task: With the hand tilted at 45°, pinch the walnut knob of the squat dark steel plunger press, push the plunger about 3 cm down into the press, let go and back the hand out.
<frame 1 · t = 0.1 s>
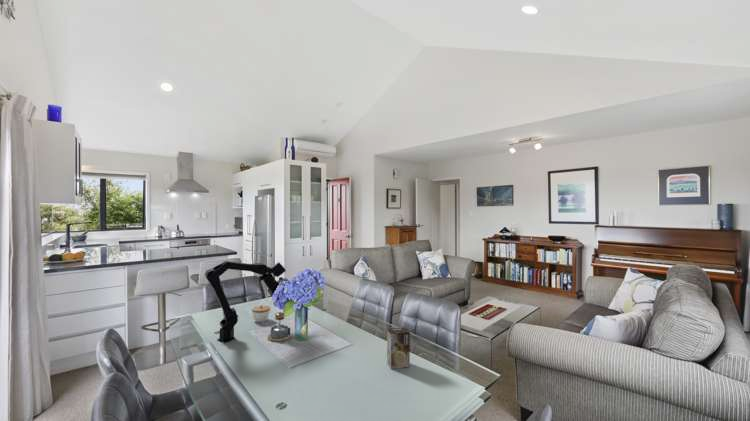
hand: (284, 302, 189), 15 cm above the table, tool tilted 35°, fingers open, 9 cm apart
press body: (279, 337, 176), on the table
plunger: (279, 321, 176), point 8 cm above the table, slide at 0.0 cm
coffee box: (397, 365, 147), on the table
lidded jar: (260, 320, 200), on the table
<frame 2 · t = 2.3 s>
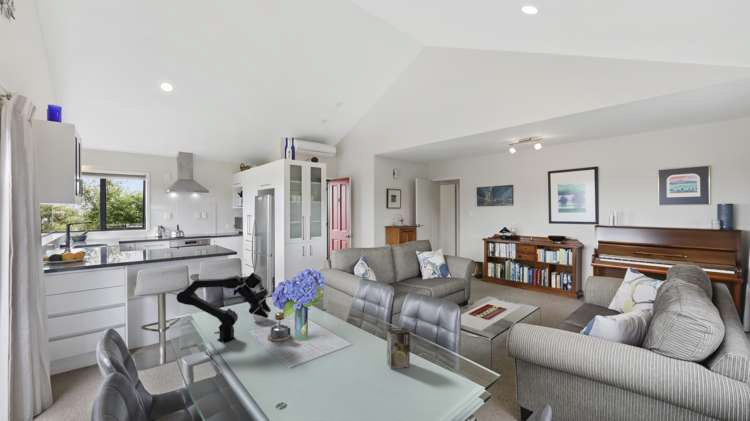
hand: (268, 314, 175), 13 cm above the table, tool tilted 45°, fingers open, 9 cm apart
nothing on the table moved.
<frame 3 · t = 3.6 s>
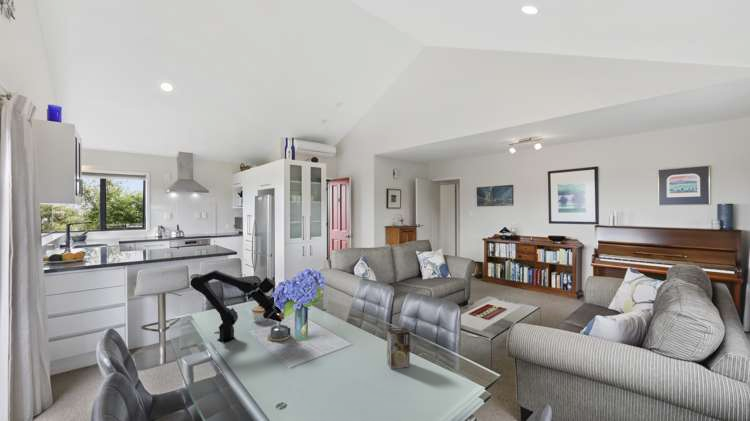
hand: (282, 318, 176), 10 cm above the table, tool tilted 45°, fingers open, 9 cm apart
nothing on the table moved.
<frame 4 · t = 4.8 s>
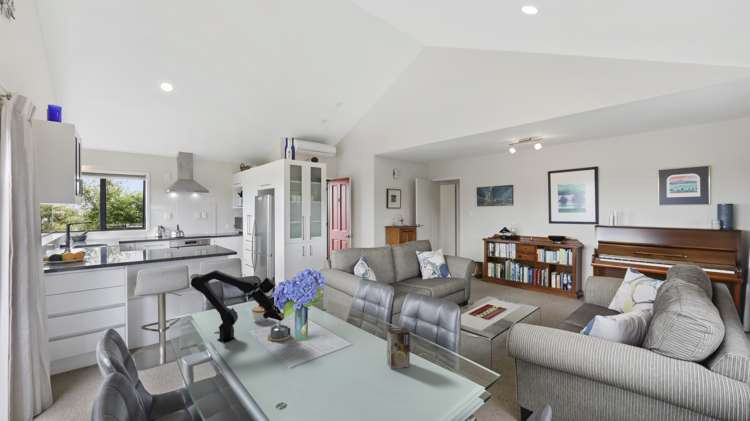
hand: (282, 318, 176), 10 cm above the table, tool tilted 45°, fingers closed on plunger, 5 cm apart
plunger: (279, 321, 176), point 8 cm above the table, slide at 0.0 cm, touching gripper
everything else where it was.
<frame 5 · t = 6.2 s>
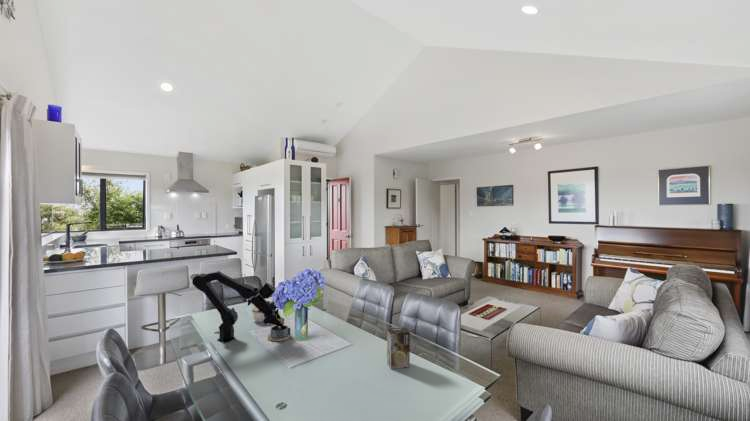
hand: (282, 324, 176), 7 cm above the table, tool tilted 45°, fingers closed on plunger, 5 cm apart
plunger: (279, 327, 176), point 5 cm above the table, slide at 3.0 cm, touching gripper
everything else where it was.
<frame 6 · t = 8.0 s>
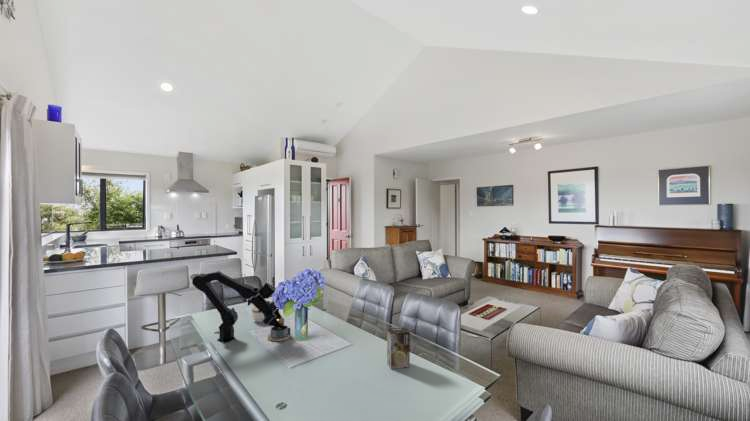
hand: (282, 324, 176), 7 cm above the table, tool tilted 45°, fingers open, 9 cm apart
plunger: (279, 327, 176), point 5 cm above the table, slide at 3.0 cm
everything else where it was.
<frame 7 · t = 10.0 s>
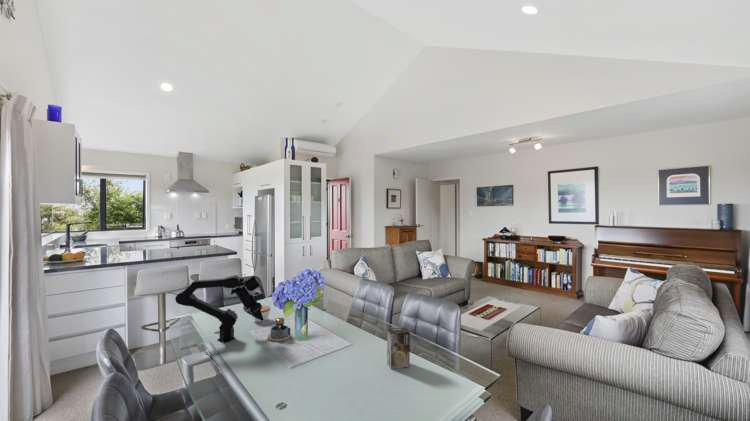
hand: (260, 319, 175), 10 cm above the table, tool tilted 35°, fingers open, 9 cm apart
nothing on the table moved.
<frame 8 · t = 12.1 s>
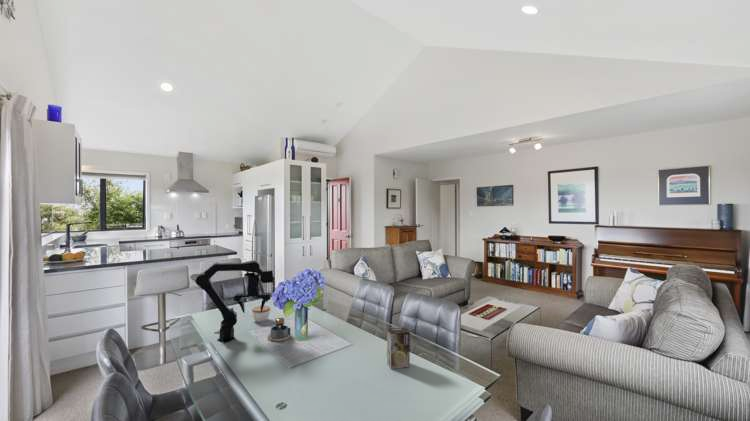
hand: (252, 312, 176), 13 cm above the table, tool pointing down, fingers open, 9 cm apart
nothing on the table moved.
at the end: plunger slide at 3.0 cm; the gripper is holding nothing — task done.
